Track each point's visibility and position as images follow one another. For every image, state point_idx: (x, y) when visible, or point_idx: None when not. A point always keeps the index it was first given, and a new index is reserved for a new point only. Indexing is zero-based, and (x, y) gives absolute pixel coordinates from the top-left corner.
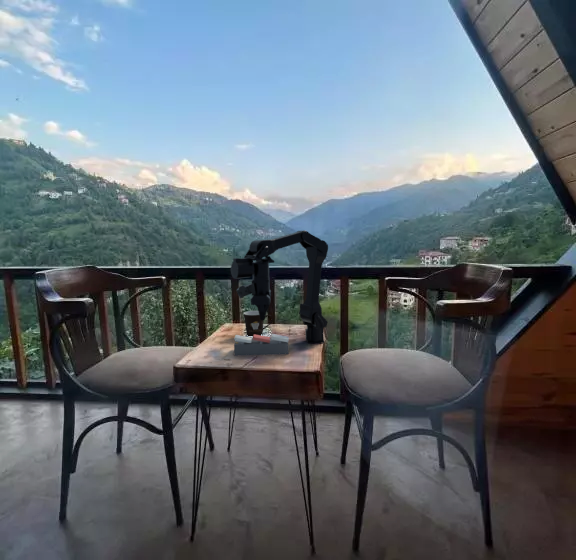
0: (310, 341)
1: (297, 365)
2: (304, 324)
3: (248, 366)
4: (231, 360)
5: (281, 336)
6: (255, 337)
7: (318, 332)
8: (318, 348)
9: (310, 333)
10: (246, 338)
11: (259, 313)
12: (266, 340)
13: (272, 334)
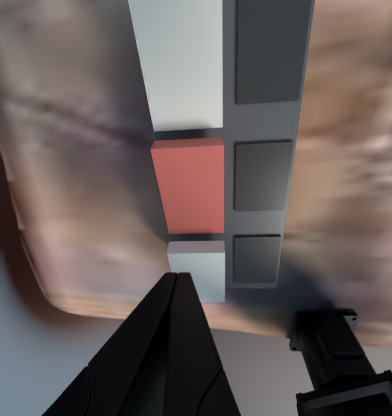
0: (304, 322)
1: (82, 276)
2: (386, 371)
3: (26, 123)
4: (78, 10)
5: (207, 284)
6: (153, 163)
7: (309, 374)
8: (239, 329)
9: (318, 351)
10: (173, 90)
11: (106, 345)
12: (166, 216)
13: (212, 255)
